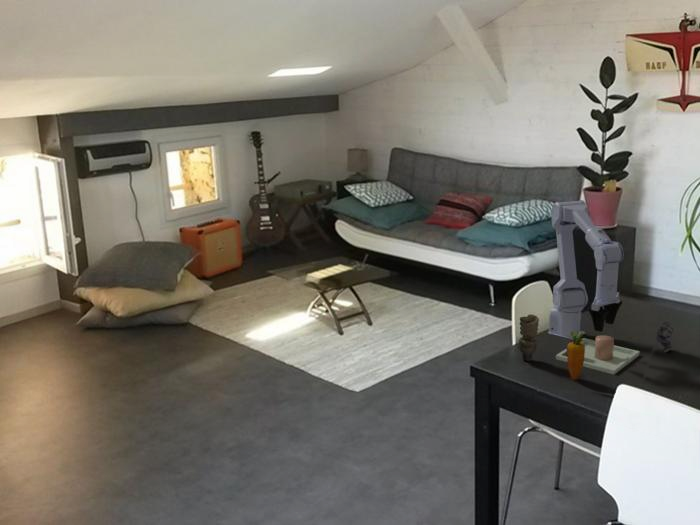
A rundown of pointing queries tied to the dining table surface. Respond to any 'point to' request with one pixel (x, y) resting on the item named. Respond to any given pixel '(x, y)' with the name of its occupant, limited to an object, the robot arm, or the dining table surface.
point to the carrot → (575, 356)
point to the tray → (611, 366)
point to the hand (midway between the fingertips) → (604, 327)
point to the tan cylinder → (604, 347)
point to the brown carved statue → (528, 336)
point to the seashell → (665, 335)
